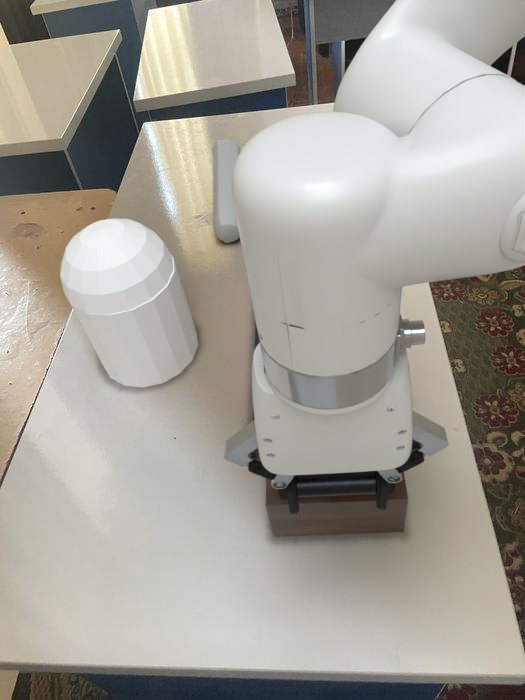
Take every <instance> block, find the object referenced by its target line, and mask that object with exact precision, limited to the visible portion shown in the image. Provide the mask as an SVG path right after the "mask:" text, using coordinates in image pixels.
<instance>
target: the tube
mask: <svg viewBox="0 0 525 700" xmlns="http://www.w3.org/2000/svg"><path fill="white" fill-rule="evenodd" d="M240 148H241V147H240V143H239V142H236V141H235V140H233V139H231V138H223V139H222V138H221V139H217V140H216V141H215V143H214V145H213V146H212V148H211V152H212V179H213V180H212V193H213V194H212V229H213V233H214V237H215V238H217V239H218V240H220V241H222V242H223V243H225V244H230V243H233V242H236V241H238V240H240V236H239V231H238V225H237V220H236V215H235V210H234V204H233V196H232V187H231V184H232V173H233V169H234V165H235V162H236V159H237V157H238V156H239V154H240V152H241V149H240Z"/></svg>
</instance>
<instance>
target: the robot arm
mask: <svg viewBox="0 0 525 700" xmlns="http://www.w3.org/2000/svg"><path fill="white" fill-rule="evenodd" d="M523 38H525V0H395V1H394V2H393V4H392V5H391V6H390V7H389V8H388V10H387V11H386V12H385V13H384V15H383V16H382V18H380V20H379V21H378V23H376V25H375V26H374V27H373V29H372V30H371V31H370V33H369V34H368V35H367V37H366V38H365V39H364V41H363V42H362V44H361V45H360V47H359V48H358V50H357V51H356V53H355V54H354V56H353V58H352V59H351V62H350V63H349V65H348V66H347V68H346V70H345V73H344V75H343V77H342V79H341V82H340V83H339V86H338V89H337V92H336V96H335V99H334V103H333V108H332V111H315V112H307V113H302V114H298V115H294V116H289V117H287V118H284V119H281V120H277V122H274V123H272V124H269V125H268V126H266V127H265V128H263V129H262V130H260V131H259V132H257V133H256V134H255V135H254V136H253V137H251V138H250V140H249V141H248V142H247V143H245V145H243V147H242V149H240V154H239V156H238V157H237V159H236V162H235V165H234V169H233V173H232V184H231V187H232V196H233V204H234V210H235V215H236V220H237V225H238V231H239V236H240V237H239V240H240V246H241V251H242V256H243V261H244V266H245V272H246V277H247V283H248V287H249V292H250V293H249V294H250V299H251V303H252V309H253V314H254V321H255V323H256V326H257V331H258V336H259V341H260V343H259V344H258V345H257V347H256V349H255V348H254V351H253V356H252V365H251V391H252V392H251V393H252V411H253V410H254V421H253V420H252V421H250V422H249V423H248V424H247V425H245V426H244V427H242V428H241V429H239V430H238V431H237V432H236V433H234V434H233V435H232V436H230V437H229V438H228V439H226V440H225V441H224V452H223V459H224V460H225V461H227V462H230V463H233V464H236V465H238V466H241V467H247V469H248V472H250V473H251V474H254V475H256V476H259V477H261V478H265V479H266V478H267V479H269V480H271V485H272V487H273V488H275V489H278V492H279V497H280V499H287V500H288V505H289V510H290V514H297V512H299V497H297V491H296V475H310V474H330V473H348V472H365V471H375V474H376V482H377V493H376V494H375V500H376V507H377V508H379V510H384V509H386V507H387V495H388V494H395V485H396V483H397V482H400V481H401V480H402V474H401V473H403V472H404V473H405V472H407V471H409V470H411V469H413V468H415V467H417V466H418V465H421V464H422V463H424V461H425V457H431V456H433V455H435V454H437V453H439V452H440V451H442V450H444V449H446V448H448V447H449V440H448V439H449V438H448V436H447V435H448V434H447V431H446V428H445V427H443V426H441V425H440V424H438V423H437V422H435V421H433V420H431V419H429V418H427V417H425V416H423V415H421V414H420V413H418V412H416V411H414V410H413V395H412V384H411V373H410V363H409V356H408V352H407V349H411V348H412V346H417V345H419V346H420V345H425V343H426V328H425V323H424V321H423V320H422V319H421V320H411V321H410V319H409V318H405V319H403V317H402V314H401V306H402V305H401V304H402V293H403V288H405V287H408V286H415V285H420V284H427V283H429V284H430V283H435V282H442V281H450V280H457V279H465V278H473V277H479V276H486V275H492V274H497V273H501V272H506V271H507V272H508V271H511V270H514V269H519V268H521V267H524V266H525V85H524V84H522V83H521V82H518V81H517V80H516V79H515V78H514V77H511V76H510V75H508V74H506V73H504V72H502V71H500V69H499V70H498V69H497V68H495V67H493V66H492V65H493V64H494V63H495V62H496V61H497V60H498V59H499V58H500V57H501V56H502V55H503V54H505V53H506V52H507V51H508V50H509V49H511V48H512V47H513V46H514V45H515V44H517V43H518V42H519V41H520V40H522V39H523Z"/></svg>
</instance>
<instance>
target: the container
mask: <svg viewBox="0 0 525 700" xmlns="http://www.w3.org/2000/svg"><path fill="white" fill-rule="evenodd" d="M59 278H60V281H61V286H62V290H63V295H65V297H66V300H67V301H68V302H69V304H70V307H71V308H72V310H73V312H74V313H75V316H76V318H77V319H78V321H79V323H80V325H81V327H82V329H83V331H84V333H85V334H86V337H87V338H88V341H89V342H90V344H91V346H92V348H93V350H94V352H95V353H96V356H97V357H98V359H99V361H100V363H101V366H102V367H103V368H104V370H105V372H106V373H107V375H108V377H109V379H111V380H112V381H114V382H116V383H118V384H120V385H122V386H123V387H131V388H141V389H144V388H147V387H153V386H156V385H162V384H164V383H166V382H168V381H170V380H172V379H173V378H175V377H177V376H179V375H180V374H181V373H182V372H184V370H185V369H186V368H187V367H188V366H189V365H190V364H191V363H192V362H193V361H194V358H195V355H196V353H197V350H198V347H199V341H198V333H197V330H196V326H195V323H194V319H193V317H192V313H191V311H190V307H189V304H188V300H187V297H186V294H185V291H184V287H183V283H182V281H181V277H180V275H179V271H178V269H177V265H176V261H175V258H174V256H173V255H172V254H171V253H170V250H169V249H168V247H167V245H166V243H165V242H164V241H163V240H162V238H161V237H160V236H159V235H158V234H157V233H156V232H155V231H154V230H152V229H150V228H149V227H147V226H146V225H144V224H142V223H140V222H138V221H135V220H132V219H130V218H106V219H102V220H96V221H94V222H93V223H89V225H87V226H86V227H84V228H82V229H81V230H80V231H79V232H77V233H76V234H74V236H72V238H71V239H70V241H69V242H68V244H67V245H66V247H65V250H64V253H63V256H62V259H61V262H60V273H59Z"/></svg>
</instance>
